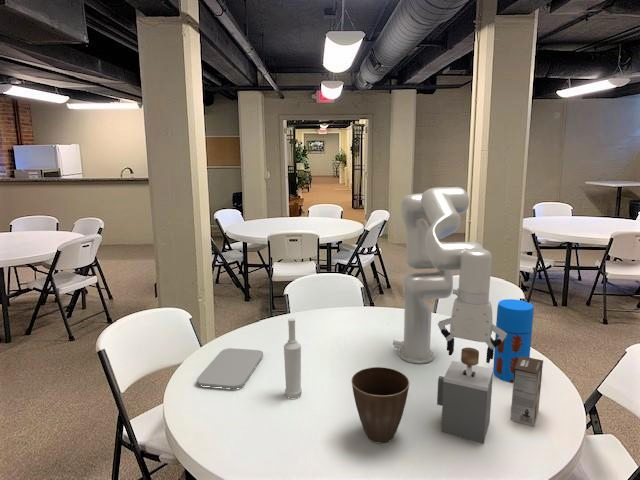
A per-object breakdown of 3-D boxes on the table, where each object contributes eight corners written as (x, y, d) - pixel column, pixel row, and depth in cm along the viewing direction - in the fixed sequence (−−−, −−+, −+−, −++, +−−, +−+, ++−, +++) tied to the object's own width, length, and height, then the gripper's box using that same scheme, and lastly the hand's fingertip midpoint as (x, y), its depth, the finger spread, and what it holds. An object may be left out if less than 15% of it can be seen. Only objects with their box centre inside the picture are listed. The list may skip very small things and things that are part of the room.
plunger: (449, 418, 123) (452, 354, 119) (455, 404, 130) (458, 343, 126) (478, 426, 119) (483, 360, 116) (483, 411, 126) (487, 348, 122)
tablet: (193, 388, 148) (193, 382, 147) (224, 353, 173) (224, 347, 172) (241, 393, 145) (241, 386, 144) (265, 356, 170) (265, 350, 169)
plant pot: (368, 459, 113) (369, 401, 109) (342, 426, 126) (341, 373, 123) (418, 443, 118) (420, 387, 115) (388, 413, 132) (389, 362, 129)
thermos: (531, 384, 147) (537, 311, 141) (496, 381, 149) (501, 309, 144) (523, 368, 157) (529, 299, 152) (490, 366, 159) (495, 298, 154)
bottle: (304, 392, 144) (302, 317, 139) (298, 400, 139) (296, 323, 134) (289, 389, 146) (287, 315, 140) (282, 397, 141) (280, 321, 136)
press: (432, 429, 124) (434, 376, 121) (441, 409, 134) (443, 358, 130) (483, 444, 118) (487, 387, 115) (489, 421, 127) (493, 368, 124)
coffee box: (515, 404, 136) (519, 354, 132) (539, 410, 132) (543, 359, 129) (509, 420, 128) (514, 367, 125) (534, 427, 125) (539, 373, 121)
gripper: (436, 295, 118) (433, 356, 122) (507, 306, 110) (502, 370, 114) (442, 287, 125) (440, 345, 128) (510, 296, 117) (505, 357, 121)
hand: (469, 357), depth 121 cm, fingers open, 9 cm apart
